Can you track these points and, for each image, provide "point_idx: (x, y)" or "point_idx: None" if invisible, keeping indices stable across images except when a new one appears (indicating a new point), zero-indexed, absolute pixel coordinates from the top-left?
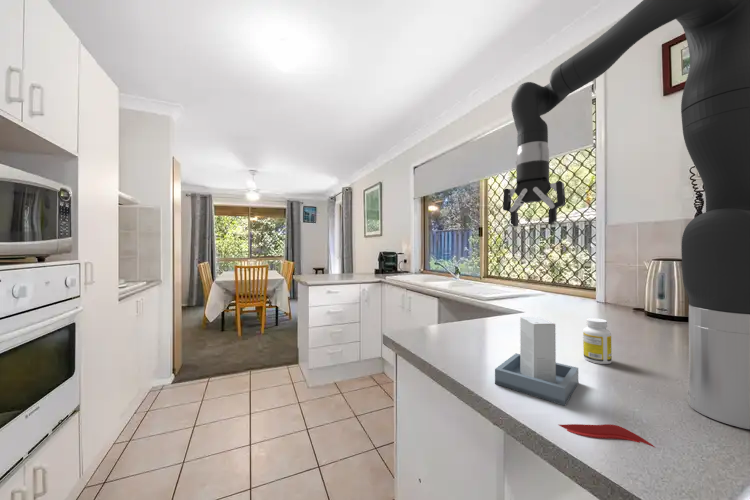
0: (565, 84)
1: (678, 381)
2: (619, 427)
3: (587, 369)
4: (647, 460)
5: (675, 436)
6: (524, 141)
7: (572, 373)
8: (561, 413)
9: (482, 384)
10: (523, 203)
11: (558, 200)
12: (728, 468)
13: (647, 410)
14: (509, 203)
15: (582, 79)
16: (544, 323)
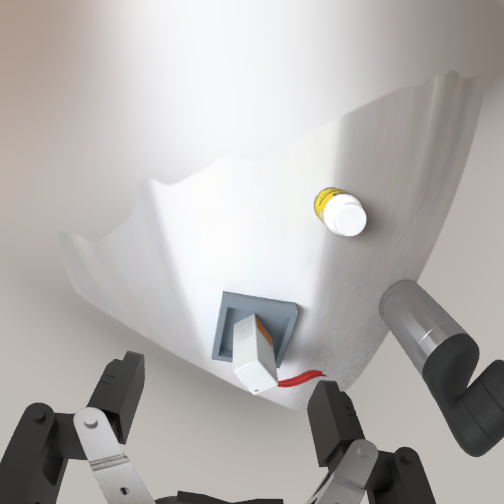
0: None
1: (398, 237)
2: (310, 378)
3: (311, 252)
4: None
5: (345, 357)
6: None
7: (289, 332)
8: None
9: (202, 354)
10: (139, 479)
11: (373, 498)
12: (356, 373)
13: (342, 329)
14: (38, 458)
15: None
16: (265, 389)
